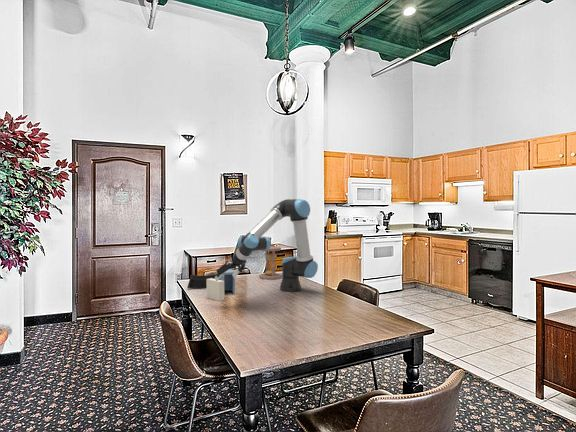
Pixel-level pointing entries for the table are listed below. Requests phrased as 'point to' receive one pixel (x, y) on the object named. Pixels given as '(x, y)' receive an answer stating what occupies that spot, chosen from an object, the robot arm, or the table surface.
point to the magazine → (199, 281)
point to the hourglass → (271, 257)
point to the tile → (215, 289)
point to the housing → (228, 281)
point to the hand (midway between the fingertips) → (224, 277)
